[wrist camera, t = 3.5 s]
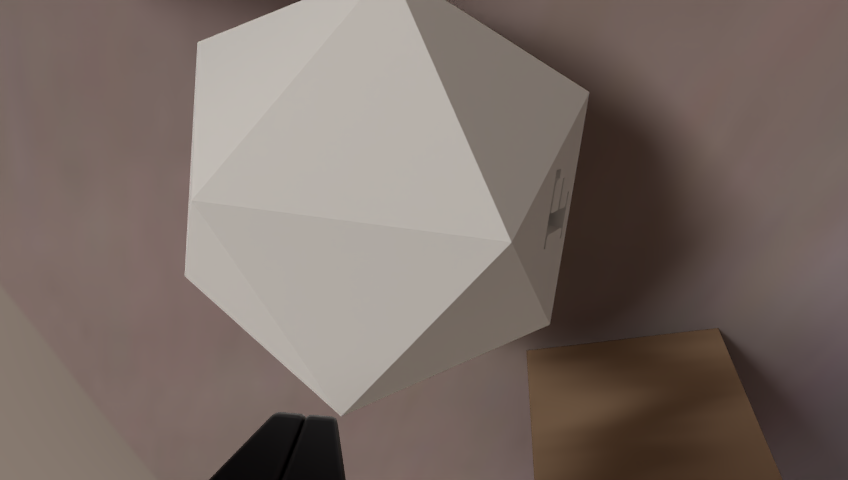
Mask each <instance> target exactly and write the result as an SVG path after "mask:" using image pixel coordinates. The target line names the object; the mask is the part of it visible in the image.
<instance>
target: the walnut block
mask: <svg viewBox="0 0 848 480" xmlns="http://www.w3.org/2000/svg"><path fill="white" fill-rule="evenodd" d="M527 366H528V382H529V399H530V415H531V431H532V448H533V464H534V480H782V477H781V475H780V473H779V470H778V468H777V466H776V463H775V461H774V459H773V456H772V454H771V452H770V449H769V447H768V445H767V442H766V440H765V437H764V435H763V433H762V430H761V428H760V426H759V423H758V421H757V419H756V416H755V414H754V412H753V409H752V407H751V405H750V402H749V400H748V398H747V395H746V393H745V390H744V388H743V386H742V383H741V381H740V379H739V376H738V374H737V372H736V369H735V367H734V365H733V362H732V360H731V358H730V355H729V353H728V351H727V348H726V346H725V343H724V341H723V339H722V336H721V334H720V332H719V329H718V328H715V329H706V330H698V331H689V332H681V333H672V334H664V335H655V336H647V337H638V338H630V339H621V340H613V341H604V342H596V343H587V344H579V345H570V346H562V347H553V348H545V349H536V350H528V351H527Z"/></svg>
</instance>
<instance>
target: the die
mask: <svg viewBox="0 0 848 480" xmlns="http://www.w3.org/2000/svg"><path fill="white" fill-rule="evenodd" d="M589 93H590V92H589V91H587V90H585V89H584V88H582V87H581V86H579V85H578V84H576V83H574V82H573V81H571V80H570V79H568V78H567V77H565V76H563V75H562V74H560V73H559V72H557V71H556V70H554V69H552V68H551V67H549V66H548V65H546V64H545V63H543V62H542V61H540V60H538V59H537V58H535V57H534V56H532V55H531V54H529V53H527V52H526V51H524V50H523V49H521V48H520V47H518V46H516V45H515V44H513V43H512V42H510V41H509V40H507V39H506V38H504V37H502V36H501V35H499V34H498V33H496V32H495V31H493V30H491V29H490V28H488V27H487V26H485V25H484V24H482V23H480V22H479V21H477V20H476V19H474V18H473V17H471V16H470V15H468V14H466V13H465V12H463V11H462V10H460V9H459V8H457V7H455V6H454V5H452V4H451V3H449V2H448V1H446V0H301V1H299V2H296V3H294V4H291V5H289V6H286V7H284V8H281V9H279V10H276V11H274V12H272V13H269V14H267V15H264V16H262V17H259V18H257V19H254V20H252V21H249V22H247V23H244V24H242V25H239V26H237V27H234V28H232V29H229V30H227V31H224V32H222V33H219V34H217V35H215V36H212V37H210V38H207V39H205V40H202V41H200V42H197V61H196V79H195V97H194V115H193V134H192V152H191V170H190V188H189V207H188V225H187V243H186V261H185V277H186V278H187V279H189V280H190V281H191V282H192V283H193V284H194V285H195V286H196V287H197V288H199V289H200V290H201V291H202V292H203V293H204V294H205V295H206V296H207V297H209V298H210V299H211V300H212V301H213V302H214V303H215V304H216V305H218V306H219V307H220V308H221V309H222V310H223V311H224V312H225V313H226V314H228V315H229V316H230V317H231V318H232V319H233V320H234V321H235V322H236V323H238V324H239V325H240V326H241V327H242V328H243V329H244V330H245V331H247V332H248V333H249V334H250V335H251V336H252V337H253V338H254V339H255V340H257V341H258V342H259V343H260V344H261V345H262V346H263V347H264V348H265V349H267V350H268V351H269V352H270V353H271V354H272V355H273V356H274V357H276V358H277V359H278V360H279V361H280V362H281V363H282V364H283V365H284V366H286V367H287V368H288V369H289V370H290V371H291V372H292V373H293V374H294V375H296V376H297V377H298V378H299V379H300V380H301V381H302V382H303V383H305V384H306V385H307V386H308V387H309V388H310V389H311V390H312V391H313V392H315V393H316V394H317V395H318V396H319V397H320V398H321V399H322V400H323V401H325V402H326V403H327V404H328V405H329V406H330V407H331V408H332V409H333V410H335V411H336V412H337V413H338V414H339V415H340V416H343V415H345V414H348V413H350V412H352V411H355V410H357V409H359V408H361V407H364V406H366V405H368V404H370V403H373V402H375V401H377V400H380V399H382V398H384V397H386V396H389V395H391V394H393V393H395V392H398V391H400V390H402V389H405V388H407V387H409V386H411V385H414V384H416V383H418V382H421V381H423V380H425V379H427V378H430V377H432V376H434V375H436V374H439V373H441V372H443V371H446V370H448V369H450V368H452V367H455V366H457V365H459V364H461V363H464V362H466V361H468V360H471V359H473V358H475V357H477V356H480V355H482V354H484V353H486V352H489V351H491V350H493V349H496V348H498V347H500V346H502V345H505V344H507V343H509V342H511V341H514V340H516V339H518V338H521V337H523V336H525V335H527V334H530V333H532V332H534V331H537V330H539V329H541V328H543V327H546V326H548V325H550V321H551V315H552V309H553V304H554V298H555V292H556V286H557V280H558V274H559V268H560V263H561V257H562V251H563V245H564V239H565V233H566V227H567V222H568V216H569V210H570V204H571V198H572V192H573V186H574V181H575V175H576V169H577V163H578V157H579V151H580V145H581V140H582V134H583V128H584V122H585V116H586V110H587V104H588V98H589Z"/></svg>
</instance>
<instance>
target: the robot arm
mask: <svg viewBox="0 0 848 480" xmlns="http://www.w3.org/2000/svg"><path fill="white" fill-rule="evenodd" d="M209 480H346V479H345V472H344V465H343V458H342V451H341V444H340V437H339V430H338V424H337V420H336V418H334V417H330V416H319V415H309V416H307V418H306V417H305V416H304V415H302V414H297V413H286V412H278V413H275V414H273V415H272V416H271V417H270V418H269V419H268V420H267V421H266V422H265V423H264V424H263V425H262V426H261V427H260V428H259V429H258V430H257V431H256V432H255V433H254V434H253V435H252V436H251V437H250V438H249V439H248V441H247V442H246V443H245V444H244V445H243V446H242V447H241V448H240V449H239V450H238V451H237V452H236V453H235V454H234V455H233V456H232V457H231V458H230V459H229V460H228V461H227V462H226V463H225V464H224V465H223V466H222V467H221V468H220V469H219V470H218V471H217V472H216V473H215V474H214V475H213V476H212V477H211V478H210V479H209Z"/></svg>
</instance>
